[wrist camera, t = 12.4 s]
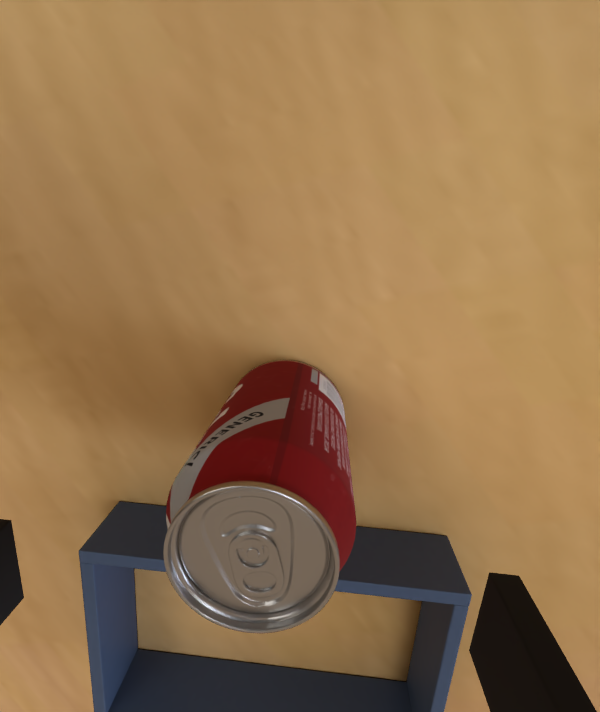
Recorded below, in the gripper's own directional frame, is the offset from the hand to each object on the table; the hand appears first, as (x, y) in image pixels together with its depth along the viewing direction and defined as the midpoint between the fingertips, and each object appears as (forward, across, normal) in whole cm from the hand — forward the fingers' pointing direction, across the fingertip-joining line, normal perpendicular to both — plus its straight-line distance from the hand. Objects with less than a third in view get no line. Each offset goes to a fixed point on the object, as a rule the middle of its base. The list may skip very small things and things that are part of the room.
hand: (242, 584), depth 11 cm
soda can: (+13, 0, -1) cm, 13 cm away
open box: (+13, 0, -15) cm, 20 cm away
